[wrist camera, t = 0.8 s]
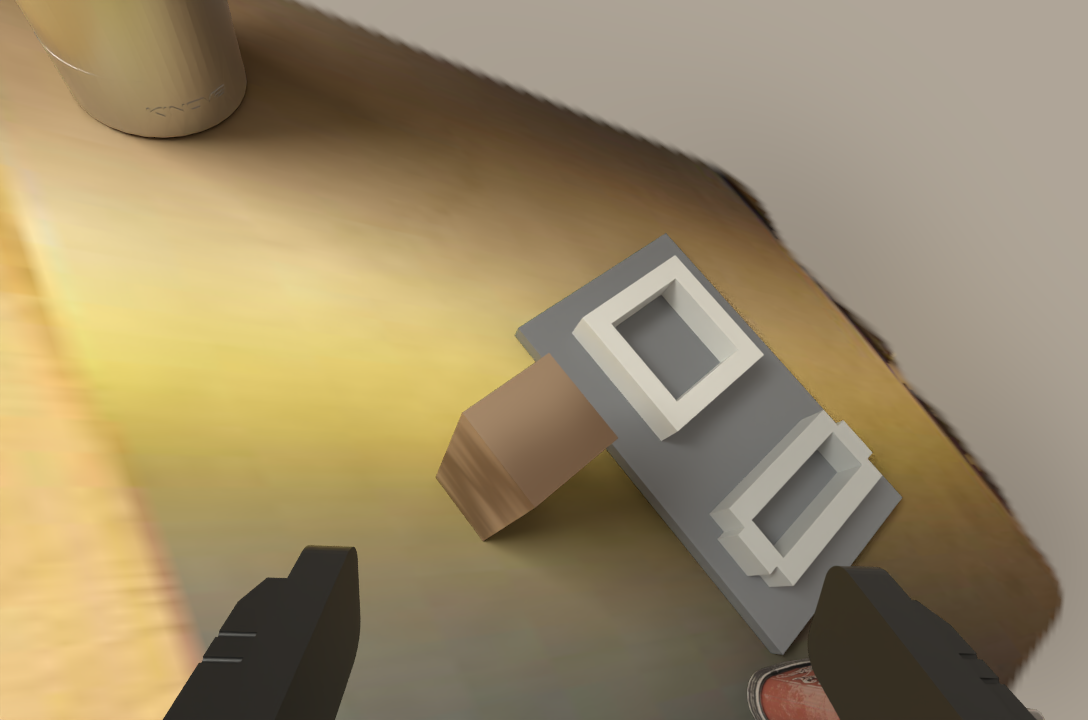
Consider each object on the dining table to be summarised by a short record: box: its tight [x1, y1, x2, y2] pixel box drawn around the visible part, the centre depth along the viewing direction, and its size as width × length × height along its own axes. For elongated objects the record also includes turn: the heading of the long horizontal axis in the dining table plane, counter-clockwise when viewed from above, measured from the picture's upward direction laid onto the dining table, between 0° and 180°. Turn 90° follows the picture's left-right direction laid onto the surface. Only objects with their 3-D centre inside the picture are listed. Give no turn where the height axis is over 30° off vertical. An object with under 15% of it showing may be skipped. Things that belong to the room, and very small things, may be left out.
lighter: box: [747, 658, 1045, 720], centre depth 25 cm, size 8×3×10 cm, turn 92°
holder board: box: [515, 233, 902, 655], centre depth 33 cm, size 22×13×3 cm, turn 41°
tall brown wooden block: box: [436, 353, 618, 541], centre depth 25 cm, size 4×4×11 cm
